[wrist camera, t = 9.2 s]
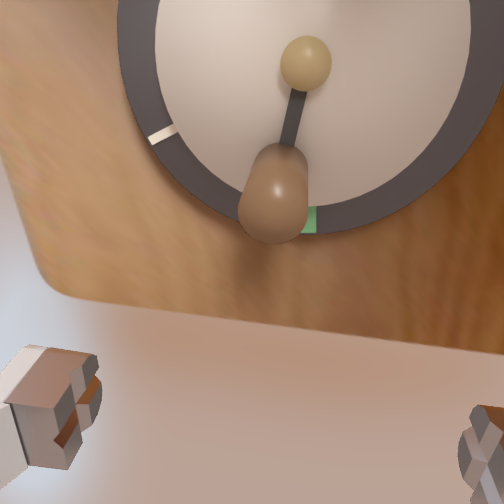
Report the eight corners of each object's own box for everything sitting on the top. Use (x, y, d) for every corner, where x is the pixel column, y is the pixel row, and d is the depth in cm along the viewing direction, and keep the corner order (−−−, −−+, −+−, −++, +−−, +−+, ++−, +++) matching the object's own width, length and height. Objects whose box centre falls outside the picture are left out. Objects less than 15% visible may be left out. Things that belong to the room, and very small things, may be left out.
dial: (179, -165, 19) (114, -256, 12) (522, -88, 19) (630, -141, 12) (147, 198, 27) (99, 253, 21) (386, 252, 27) (410, 325, 21)
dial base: (254, -318, 18) (250, -349, 16) (597, -4, 21) (619, -6, 20) (73, 106, 27) (60, 112, 25) (335, 277, 30) (337, 291, 29)
